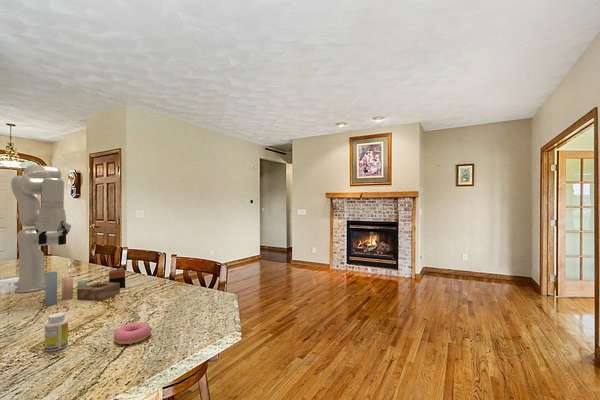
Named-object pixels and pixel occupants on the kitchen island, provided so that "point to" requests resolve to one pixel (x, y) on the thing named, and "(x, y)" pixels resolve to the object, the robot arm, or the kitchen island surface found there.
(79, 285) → the short dowel
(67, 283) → the medium dowel
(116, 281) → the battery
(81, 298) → the hole block
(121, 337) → the doughnut
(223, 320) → the kitchen island surface
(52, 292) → the tall dowel
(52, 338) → the supplement bottle
